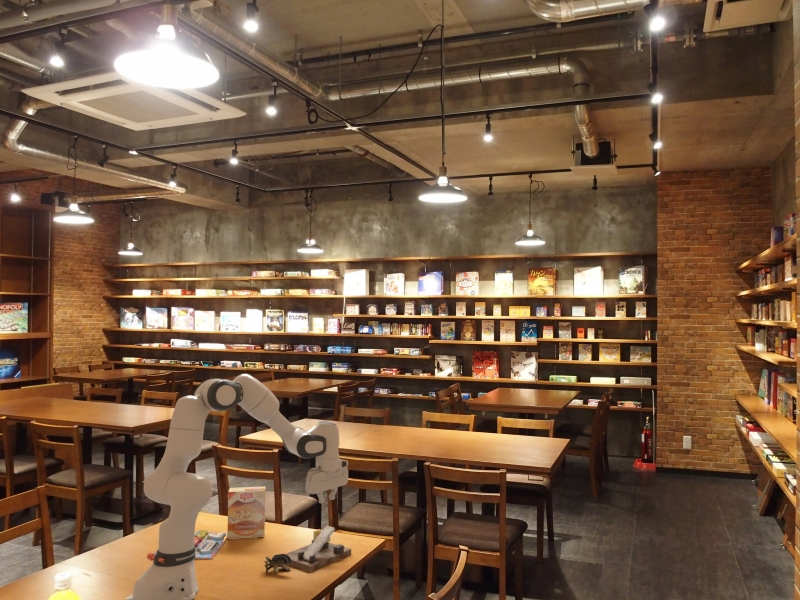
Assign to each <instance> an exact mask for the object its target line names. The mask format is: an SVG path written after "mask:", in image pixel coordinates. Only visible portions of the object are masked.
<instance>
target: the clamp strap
mask: <svg viewBox="0 0 800 600" xmlns="http://www.w3.org/2000/svg"><path fill="white" fill-rule="evenodd" d="M335 530H336V529H335V527H333V526H329V525H325V526H324V528H323V529H321V533H320V534H319V535H318V537H317V538H316V539H315V541H314V542H313V543H312V542H311V543H310V544H311V546H310V547H309V548H308V549H307V551H306V552H305V553H304V554H303V556H302V559H303V560H306V561H309V556H311V555H316V554H317V553H318V552H319V550H320V549H321V548H322V546H323V545H324V544H325V542H326V541H327V540H328V539H329V537H330V538H331V536H332V535H333V533H334V532H335Z"/></svg>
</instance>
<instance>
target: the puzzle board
mask: <svg viewBox="0 0 800 600" xmlns="http://www.w3.org/2000/svg"><path fill="white" fill-rule="evenodd" d="M213 532H215V533H213ZM217 532H218V531H208V529H206V530H205V529H204V530H201V529H200V530H199V529H197V530H195V534H194V545H195V559H211V560H213V559H214V558H215V557H214V556H216V555H217V554H218V553H219V551H220V550H221V548H222V547H221V546H223V545H224V544H225V542H223V540H224V537H225V536H226V533H217ZM223 543H224V544H223ZM219 549H220V550H219ZM218 550H219V551H218ZM156 552H157V550H156V551H155V552H154V553H153V554H155V555H156ZM216 553H217V554H216ZM213 557H214V558H213Z"/></svg>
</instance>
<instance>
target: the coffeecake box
mask: <svg viewBox="0 0 800 600" xmlns="http://www.w3.org/2000/svg"><path fill="white" fill-rule="evenodd" d="M227 498H228V499H227V539H232V540H242V539H241V538H249V539H259V538H258V537H264V538H265V532H266V530H265V529H266V527H265V526H266V486H249V487H248V486H246V487H245V486H243V487H241V486H240V487H229V489H228V496H227Z"/></svg>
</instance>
